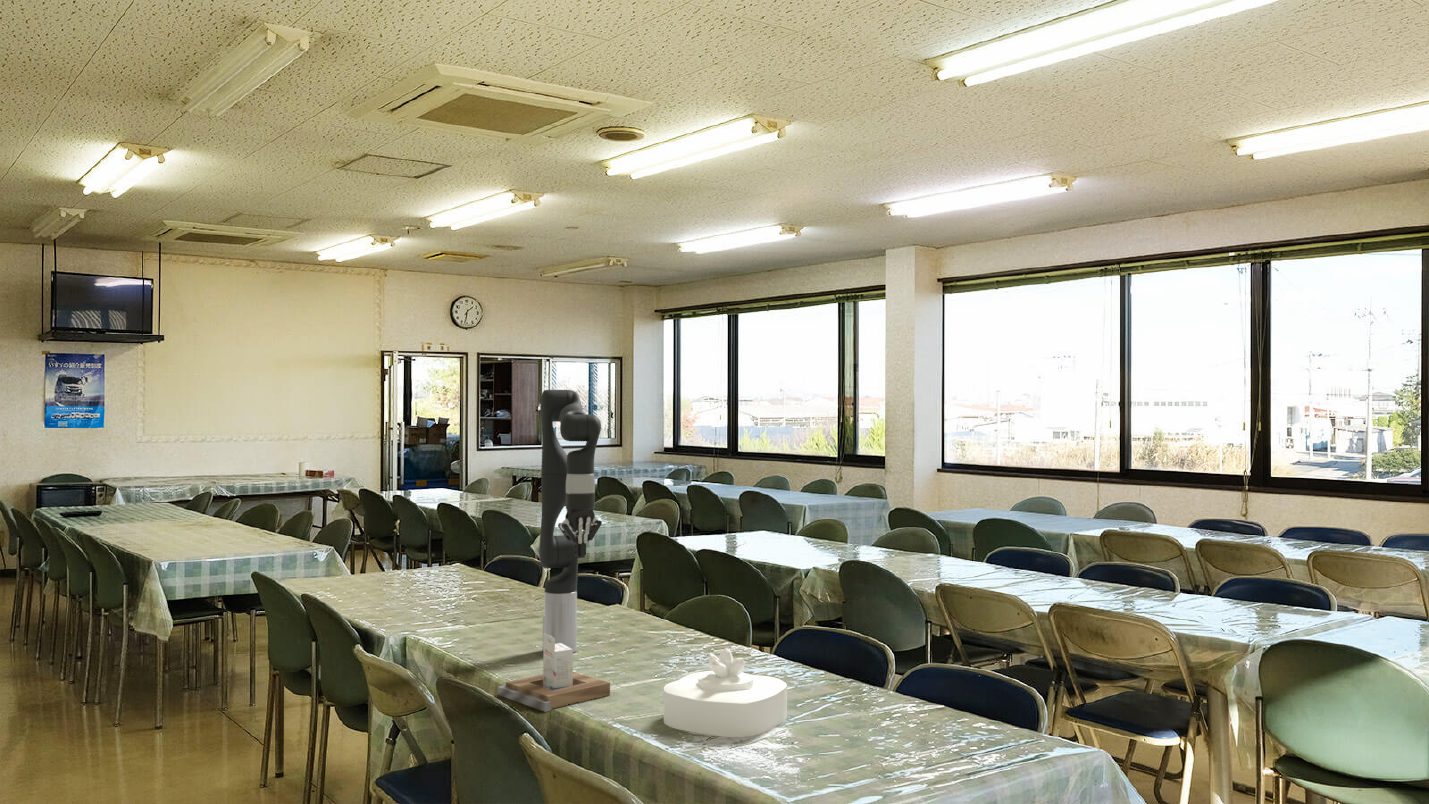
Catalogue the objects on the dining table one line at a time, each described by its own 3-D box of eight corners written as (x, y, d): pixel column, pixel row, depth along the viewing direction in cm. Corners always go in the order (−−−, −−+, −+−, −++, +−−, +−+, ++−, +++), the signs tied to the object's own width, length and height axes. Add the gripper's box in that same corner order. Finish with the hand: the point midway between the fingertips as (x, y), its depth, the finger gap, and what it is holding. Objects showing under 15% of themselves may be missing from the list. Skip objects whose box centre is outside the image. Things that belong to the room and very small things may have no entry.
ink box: (573, 697, 251) (574, 636, 251) (554, 700, 249) (554, 638, 249) (561, 689, 258) (561, 630, 259) (542, 692, 256) (542, 632, 256)
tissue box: (750, 742, 218) (750, 665, 218) (649, 725, 230) (649, 652, 230) (799, 712, 240) (799, 642, 240) (704, 698, 251) (704, 631, 252)
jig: (497, 694, 253) (497, 682, 253) (563, 680, 267) (563, 669, 267) (545, 711, 239) (545, 698, 239) (612, 696, 252) (612, 683, 253)
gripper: (591, 489, 278) (591, 554, 278) (550, 491, 269) (550, 558, 269) (609, 490, 273) (609, 556, 273) (568, 493, 264) (567, 561, 263)
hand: (580, 557), depth 271 cm, fingers closed
